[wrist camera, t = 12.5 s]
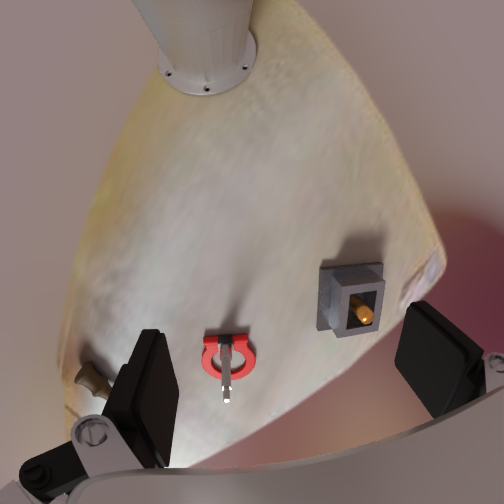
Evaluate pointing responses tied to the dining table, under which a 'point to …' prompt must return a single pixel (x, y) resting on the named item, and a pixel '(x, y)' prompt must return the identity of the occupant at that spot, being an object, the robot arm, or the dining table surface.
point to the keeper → (355, 299)
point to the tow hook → (227, 359)
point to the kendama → (93, 381)
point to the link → (339, 302)
